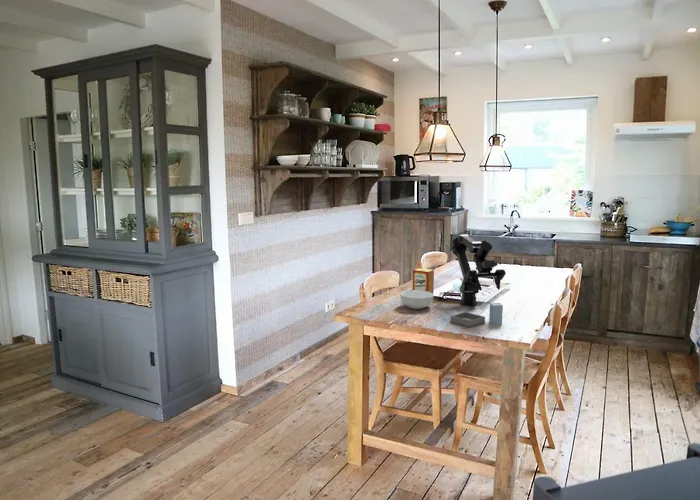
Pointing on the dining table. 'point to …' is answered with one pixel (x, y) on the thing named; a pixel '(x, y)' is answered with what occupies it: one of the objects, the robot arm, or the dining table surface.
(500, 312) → the slate block
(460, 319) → the tray
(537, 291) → the dining table surface
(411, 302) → the cereal bowl
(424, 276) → the baking soda box
